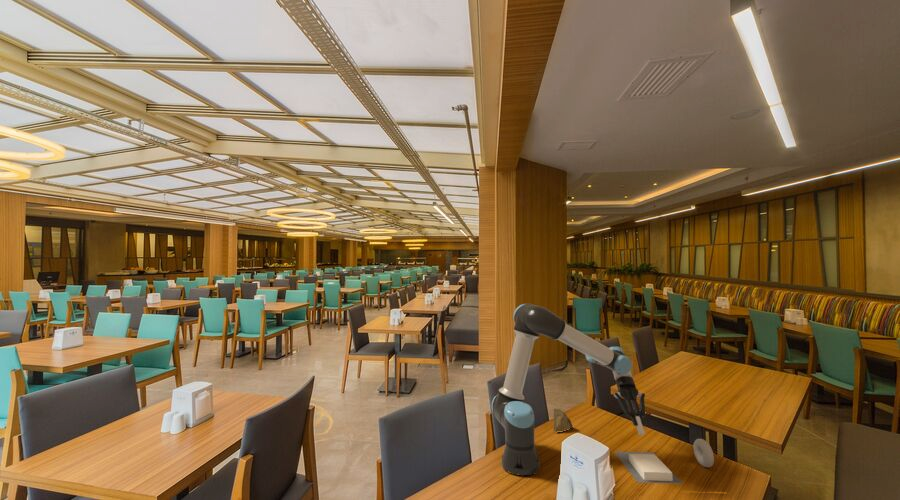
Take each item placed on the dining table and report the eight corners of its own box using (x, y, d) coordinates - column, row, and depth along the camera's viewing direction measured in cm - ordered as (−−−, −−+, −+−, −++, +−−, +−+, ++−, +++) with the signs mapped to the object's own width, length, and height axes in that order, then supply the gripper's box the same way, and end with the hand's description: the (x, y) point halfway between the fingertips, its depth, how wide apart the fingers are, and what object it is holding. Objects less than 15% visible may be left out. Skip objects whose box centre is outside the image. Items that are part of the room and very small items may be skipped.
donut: (716, 473, 136) (715, 446, 136) (707, 472, 136) (705, 445, 136) (700, 459, 146) (699, 434, 146) (692, 458, 146) (690, 433, 146)
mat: (614, 453, 151) (614, 451, 151) (652, 453, 150) (652, 452, 150) (637, 484, 129) (637, 482, 129) (683, 485, 128) (683, 483, 128)
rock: (571, 420, 179) (551, 416, 181) (575, 410, 174) (554, 406, 176) (573, 441, 170) (552, 437, 172) (577, 432, 166) (555, 427, 167)
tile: (628, 453, 144) (644, 472, 131) (654, 454, 143) (672, 472, 130) (629, 461, 143) (644, 480, 130) (654, 462, 143) (672, 481, 130)
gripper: (636, 383, 163) (655, 438, 146) (607, 383, 164) (622, 437, 147) (641, 375, 158) (661, 430, 141) (611, 374, 159) (627, 429, 142)
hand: (641, 433), depth 144 cm, fingers closed
